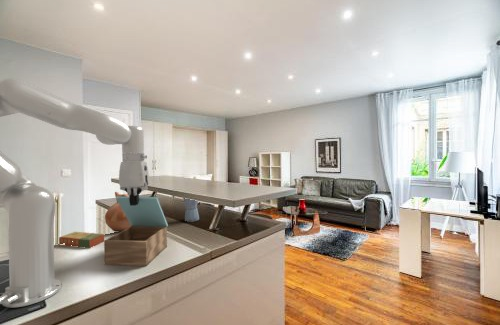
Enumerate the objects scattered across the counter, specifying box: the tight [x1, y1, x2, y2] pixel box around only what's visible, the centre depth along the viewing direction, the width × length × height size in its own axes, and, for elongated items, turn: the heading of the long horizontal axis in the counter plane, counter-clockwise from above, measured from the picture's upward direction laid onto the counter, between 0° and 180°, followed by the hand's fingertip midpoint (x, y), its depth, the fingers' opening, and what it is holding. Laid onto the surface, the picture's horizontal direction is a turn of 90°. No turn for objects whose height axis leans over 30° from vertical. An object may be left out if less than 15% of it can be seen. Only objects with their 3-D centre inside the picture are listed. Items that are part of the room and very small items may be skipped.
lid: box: [115, 196, 169, 228], centre depth 99 cm, size 18×17×2 cm
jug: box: [104, 191, 131, 233], centre depth 128 cm, size 18×18×20 cm
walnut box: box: [103, 226, 168, 267], centre depth 94 cm, size 18×16×9 cm
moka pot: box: [182, 197, 201, 223], centre depth 146 cm, size 10×15×20 cm, turn 145°
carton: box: [58, 231, 105, 249], centre depth 106 cm, size 8×16×4 cm, turn 80°
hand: (134, 204), depth 91 cm, fingers closed
